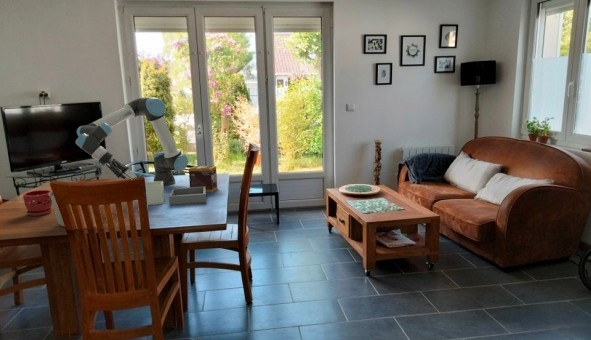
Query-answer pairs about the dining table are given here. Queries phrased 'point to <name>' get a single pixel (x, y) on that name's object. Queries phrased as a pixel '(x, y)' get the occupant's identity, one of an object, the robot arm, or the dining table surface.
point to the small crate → (155, 192)
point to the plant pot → (38, 202)
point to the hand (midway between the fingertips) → (133, 180)
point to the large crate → (187, 196)
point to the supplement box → (203, 177)
